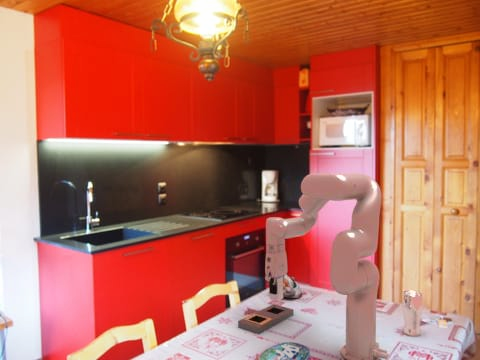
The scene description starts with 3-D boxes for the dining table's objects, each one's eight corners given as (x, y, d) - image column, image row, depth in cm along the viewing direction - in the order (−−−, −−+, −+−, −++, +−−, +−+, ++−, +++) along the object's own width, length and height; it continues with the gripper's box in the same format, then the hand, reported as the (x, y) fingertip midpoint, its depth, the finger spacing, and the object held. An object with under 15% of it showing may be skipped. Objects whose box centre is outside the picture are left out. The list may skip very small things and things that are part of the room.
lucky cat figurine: (307, 297, 188) (302, 275, 182) (286, 310, 185) (280, 288, 179) (291, 280, 201) (285, 259, 195) (270, 292, 198) (264, 271, 191)
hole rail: (293, 316, 165) (293, 308, 165) (259, 335, 147) (259, 327, 147) (273, 311, 172) (273, 303, 172) (238, 328, 153) (238, 320, 153)
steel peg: (283, 298, 163) (282, 276, 163) (277, 300, 160) (277, 278, 160) (275, 296, 166) (274, 275, 166) (269, 299, 163) (269, 277, 163)
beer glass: (410, 337, 145) (411, 297, 144) (398, 330, 151) (398, 291, 151) (426, 335, 147) (427, 295, 146) (413, 328, 153) (414, 289, 153)
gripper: (271, 252, 154) (272, 299, 154) (294, 245, 167) (294, 289, 167) (255, 250, 159) (256, 296, 159) (279, 243, 171) (279, 286, 172)
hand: (276, 292), depth 163 cm, fingers closed on steel peg, 4 cm apart
